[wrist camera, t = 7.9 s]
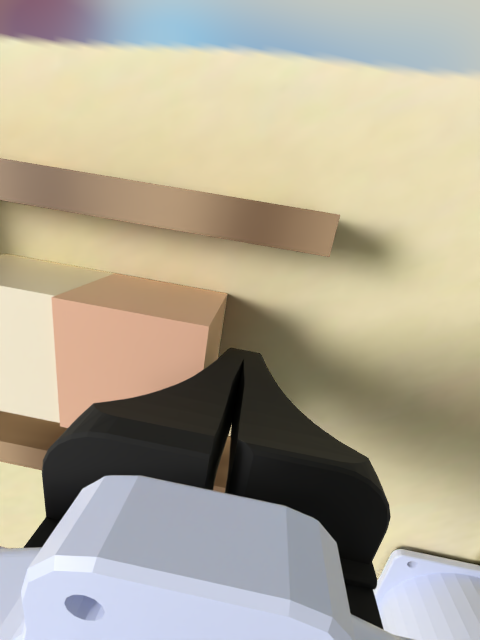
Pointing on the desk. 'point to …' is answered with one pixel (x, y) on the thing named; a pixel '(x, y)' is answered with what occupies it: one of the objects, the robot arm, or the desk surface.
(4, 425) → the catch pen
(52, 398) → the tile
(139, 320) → the pink cube-like block
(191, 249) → the desk surface
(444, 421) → the desk surface
